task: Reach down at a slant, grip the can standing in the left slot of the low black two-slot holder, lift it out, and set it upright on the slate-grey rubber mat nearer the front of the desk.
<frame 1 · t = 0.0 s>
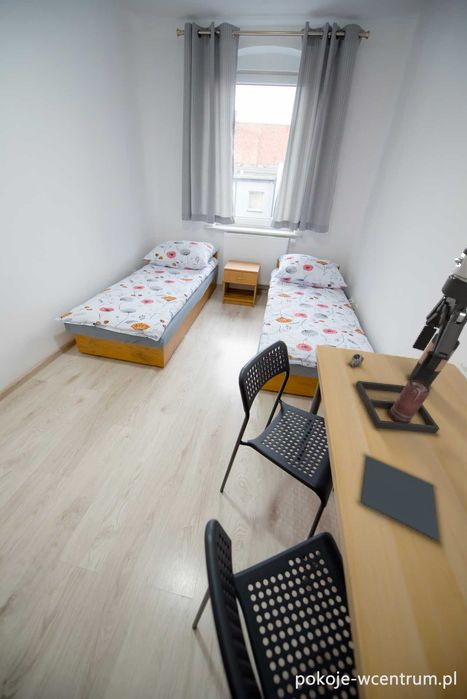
hand: (419, 362, 68), 27 cm above the table, tool pointing down, fingers open, 13 cm apart
holder: (392, 407, 92), on the table
can: (398, 418, 89), resting in holder
wristwatch: (355, 365, 111), on the table
travel mug: (418, 382, 106), on the table
mat: (397, 494, 68), on the table
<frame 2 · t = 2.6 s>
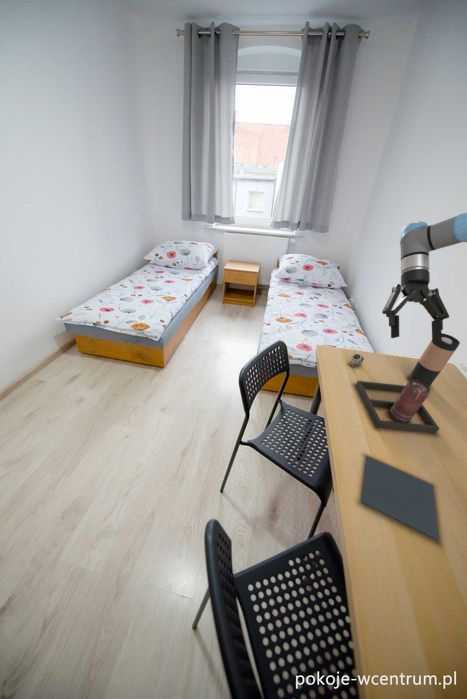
hand: (416, 339, 84), 24 cm above the table, tool tilted 45°, fingers open, 13 cm apart
nothing on the table moved.
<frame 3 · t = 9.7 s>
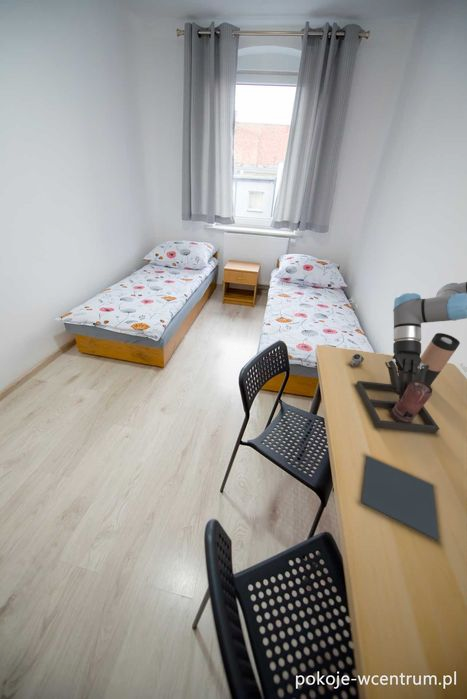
hand: (406, 417, 84), 4 cm above the table, tool tilted 45°, fingers closed
can: (399, 418, 89), resting in holder, touching gripper
everything else where it was.
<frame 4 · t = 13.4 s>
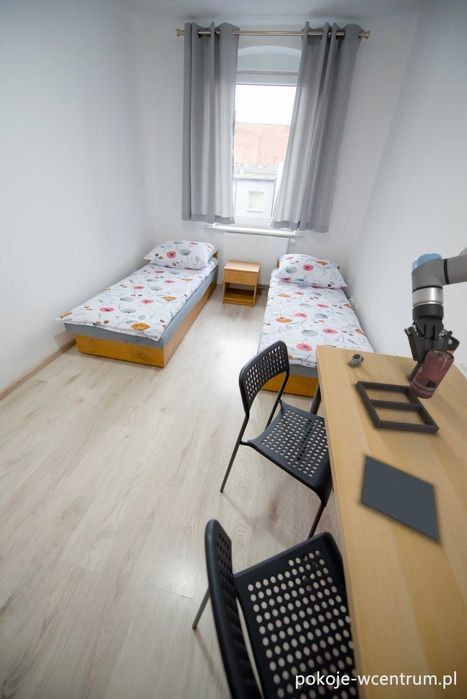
hand: (429, 387, 77), 16 cm above the table, tool tilted 45°, fingers closed
can: (419, 393, 82), point 11 cm above the table, touching gripper, hand
everything else where it was.
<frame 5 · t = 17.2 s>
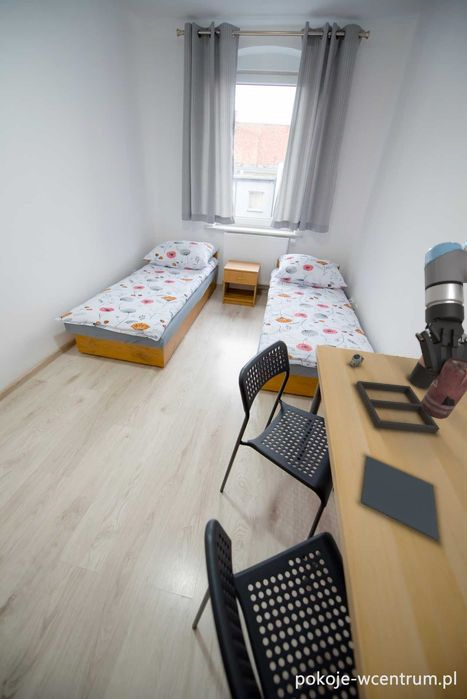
hand: (446, 405, 63), 22 cm above the table, tool tilted 45°, fingers closed
can: (432, 411, 68), point 17 cm above the table, touching gripper, hand
everything else where it was.
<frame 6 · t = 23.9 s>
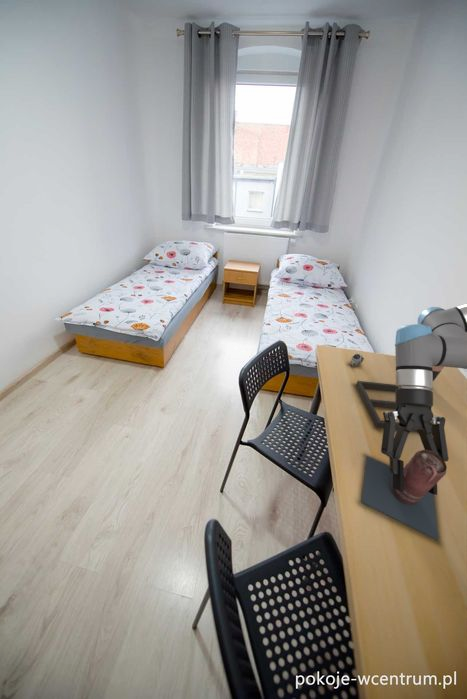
hand: (414, 490, 62), 6 cm above the table, tool tilted 45°, fingers open, 7 cm apart
can: (403, 493, 68), resting on mat
everything else where it was.
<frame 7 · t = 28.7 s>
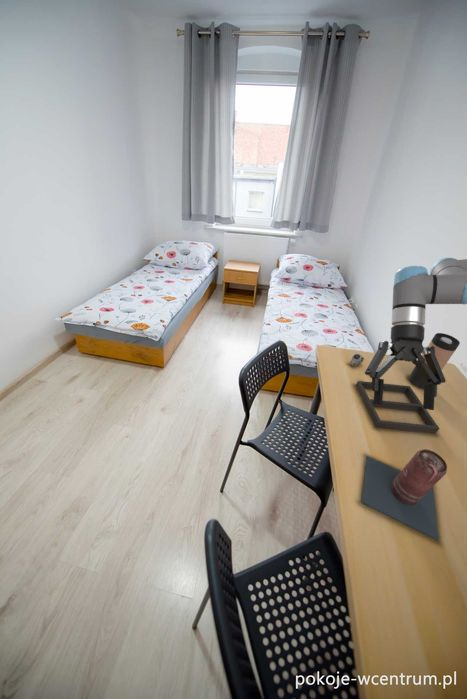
hand: (403, 406, 71), 15 cm above the table, tool tilted 40°, fingers open, 13 cm apart
nothing on the table moved.
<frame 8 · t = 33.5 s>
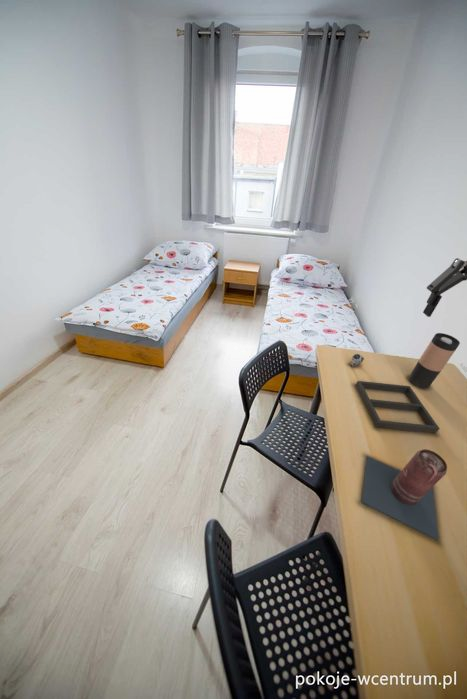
hand: (448, 317, 82), 31 cm above the table, tool pointing down, fingers open, 13 cm apart
nothing on the table moved.
at the end: can inside the target area on the mat (1.1 cm from its centre), point 0.3 cm above the mat's base; can tilted 0°; can touching mat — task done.
